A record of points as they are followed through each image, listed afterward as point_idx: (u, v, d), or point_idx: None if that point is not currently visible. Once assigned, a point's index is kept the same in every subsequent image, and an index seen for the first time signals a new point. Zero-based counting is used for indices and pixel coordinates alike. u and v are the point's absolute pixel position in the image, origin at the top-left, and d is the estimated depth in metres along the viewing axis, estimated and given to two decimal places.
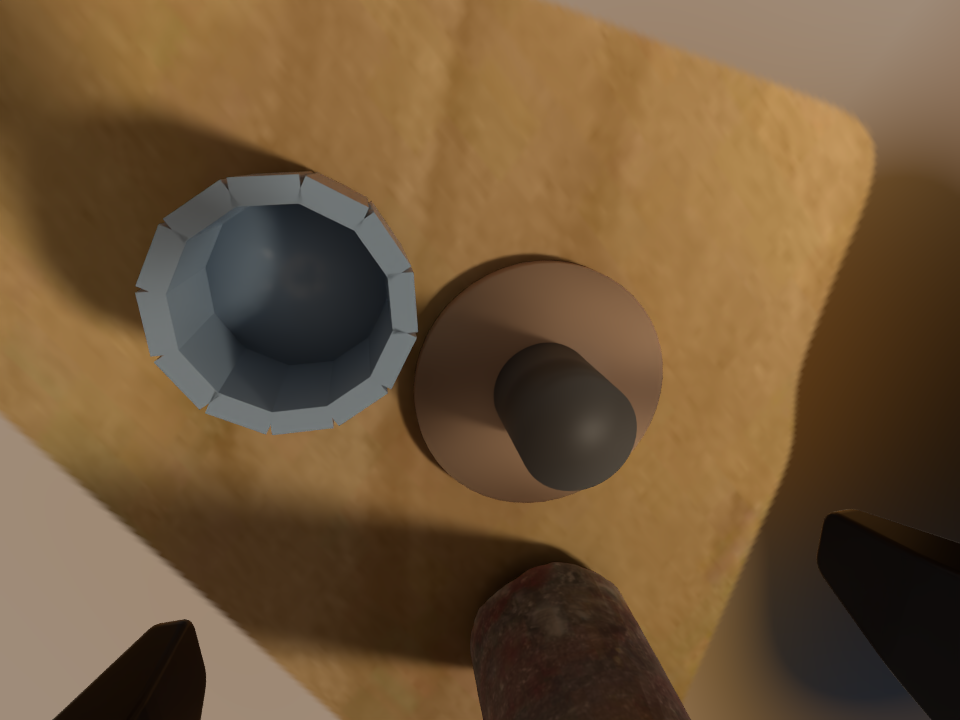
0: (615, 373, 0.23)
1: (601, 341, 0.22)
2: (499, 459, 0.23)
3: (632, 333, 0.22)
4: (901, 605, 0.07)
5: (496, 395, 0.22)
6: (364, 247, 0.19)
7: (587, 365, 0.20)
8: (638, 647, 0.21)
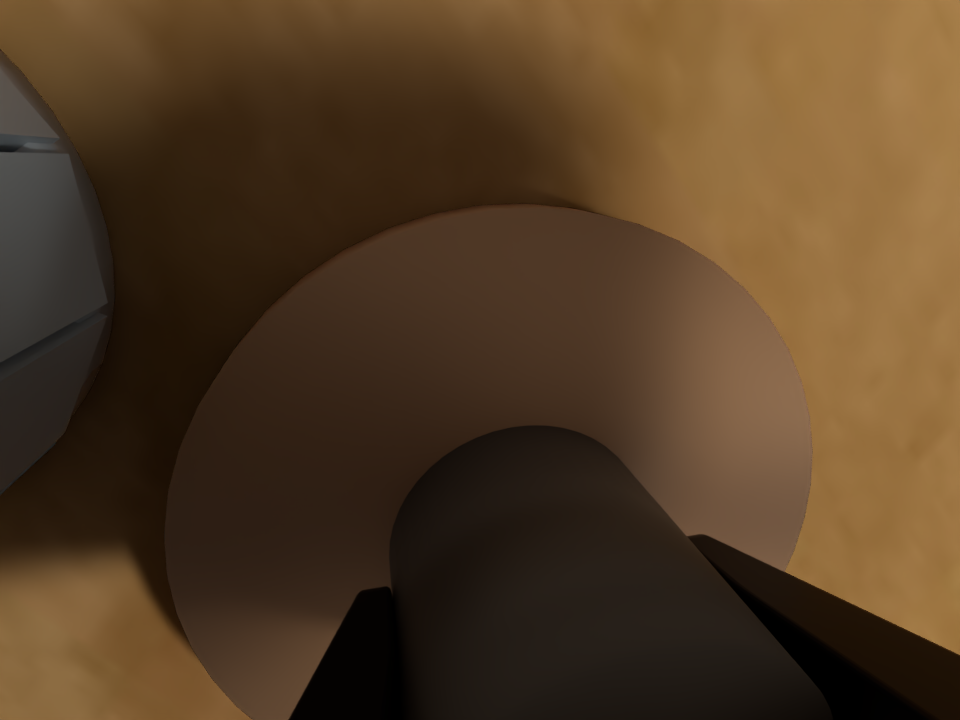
0: (698, 484, 0.09)
1: (663, 413, 0.09)
2: None
3: (740, 385, 0.09)
4: None
5: (390, 577, 0.08)
6: None
7: (642, 519, 0.06)
8: None
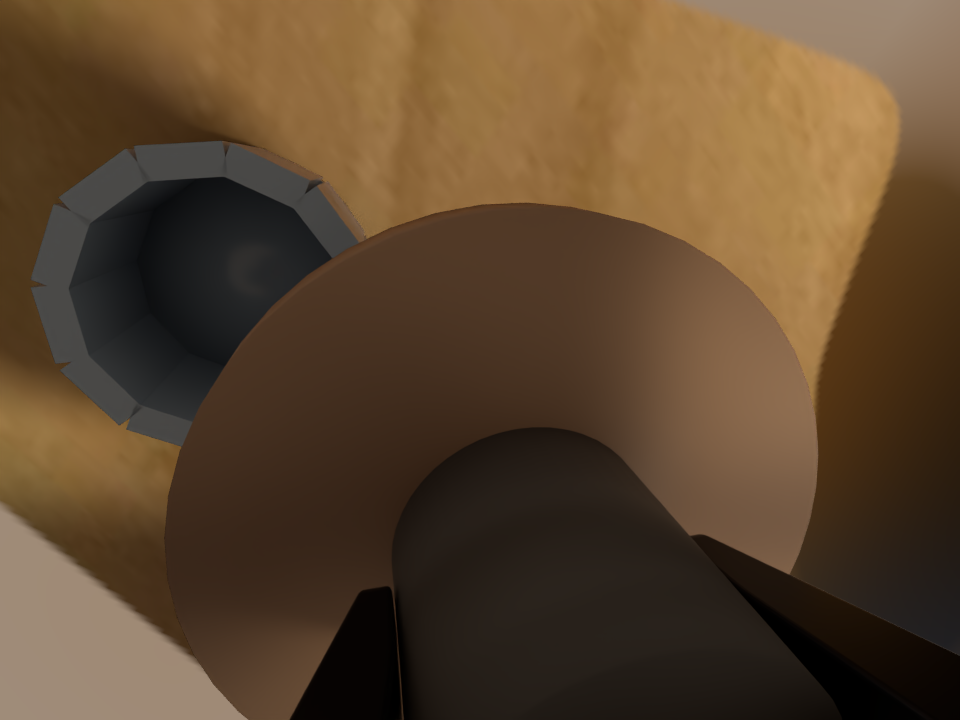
0: (703, 486, 0.09)
1: (668, 414, 0.08)
2: None
3: (745, 387, 0.09)
4: None
5: (393, 580, 0.08)
6: None
7: (649, 522, 0.06)
8: None
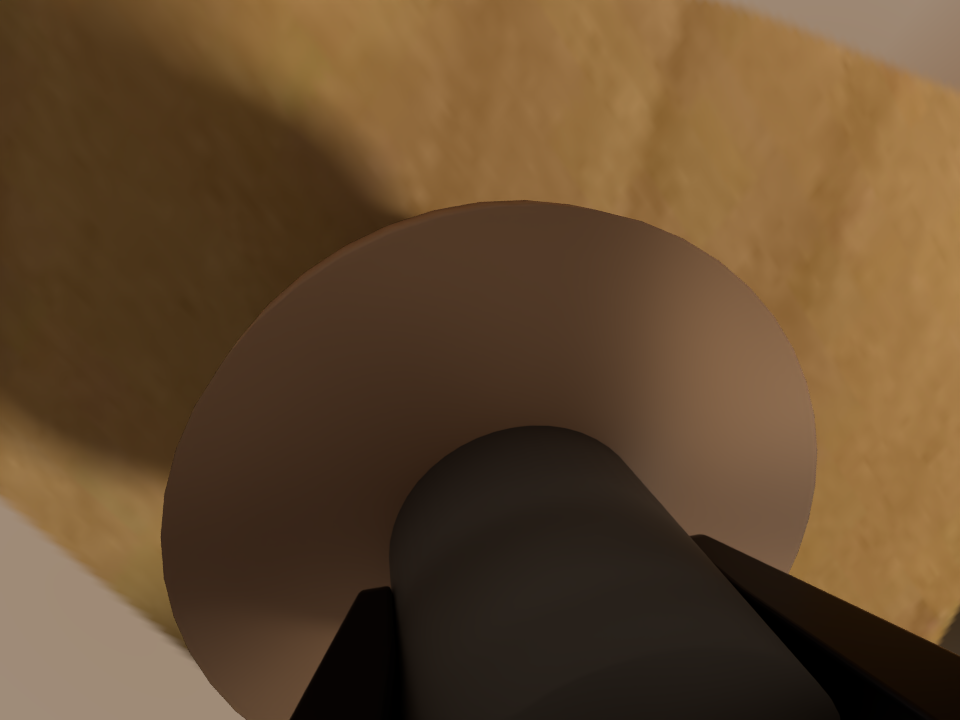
0: (702, 485, 0.09)
1: (666, 412, 0.08)
2: None
3: (744, 385, 0.09)
4: None
5: (390, 579, 0.08)
6: None
7: (646, 521, 0.06)
8: None
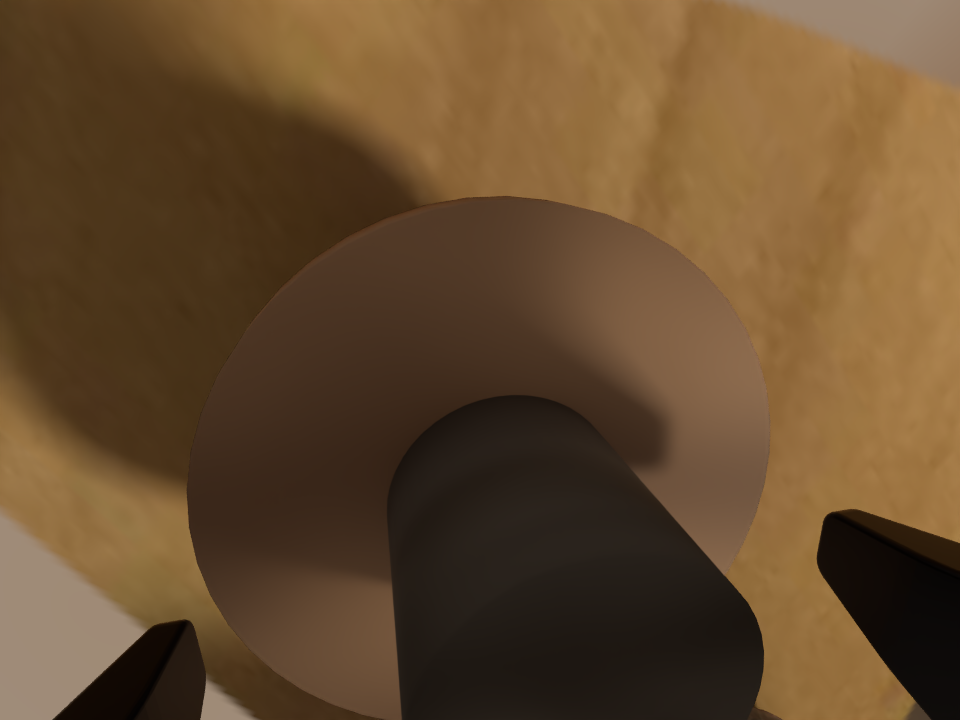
0: (666, 451, 0.10)
1: (633, 384, 0.10)
2: None
3: (702, 361, 0.10)
4: (901, 605, 0.07)
5: (387, 529, 0.09)
6: None
7: (605, 468, 0.07)
8: None
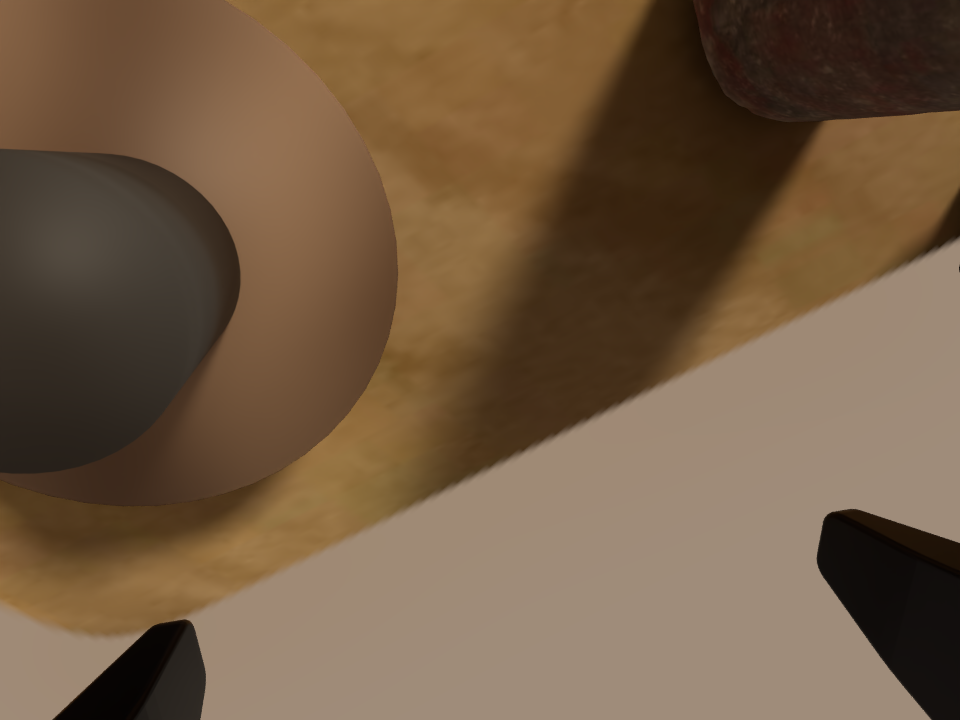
0: (72, 90, 0.10)
1: None
2: (285, 361, 0.12)
3: None
4: (901, 605, 0.07)
5: None
6: None
7: None
8: None
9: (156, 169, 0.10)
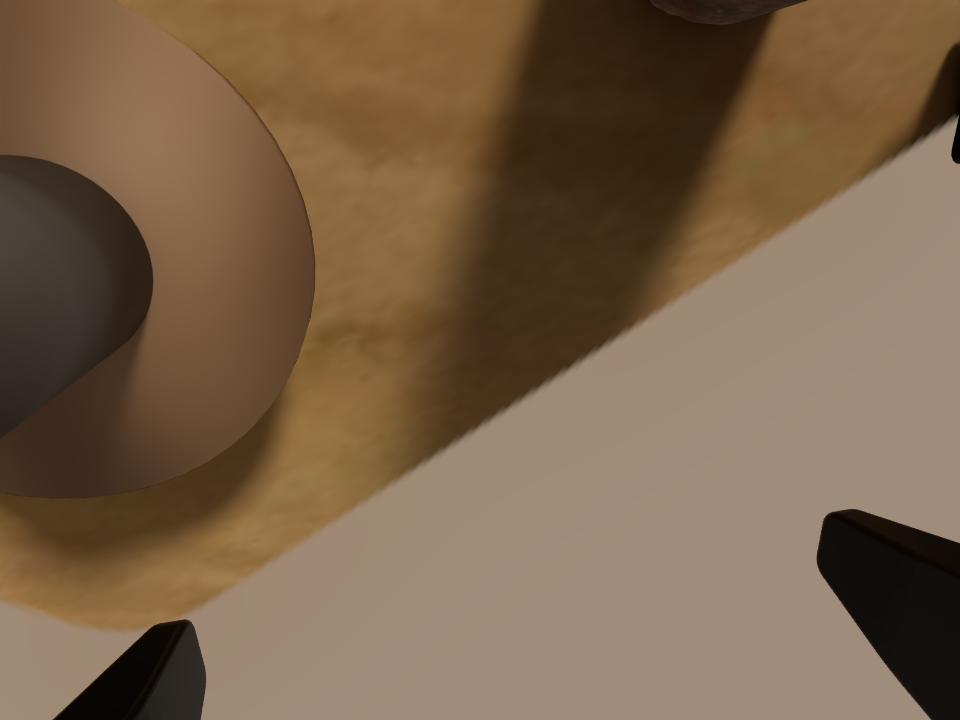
0: None
1: None
2: (213, 338, 0.12)
3: None
4: (901, 605, 0.07)
5: None
6: None
7: None
8: None
9: (39, 163, 0.10)
